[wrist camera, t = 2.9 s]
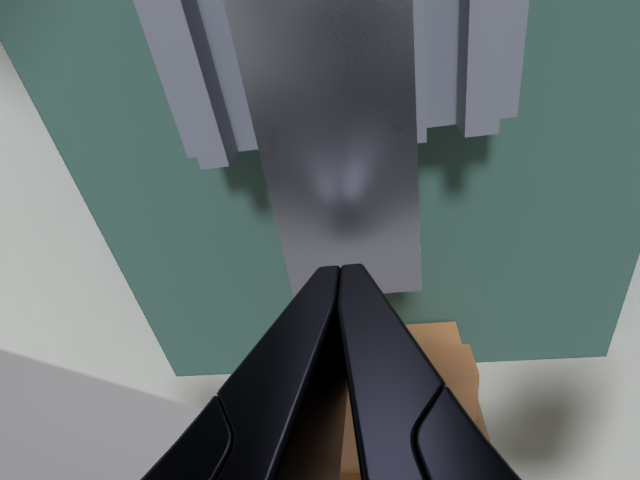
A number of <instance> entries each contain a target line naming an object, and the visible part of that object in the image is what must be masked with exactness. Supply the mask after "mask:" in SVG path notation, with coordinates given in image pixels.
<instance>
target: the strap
mask: <svg viewBox="0 0 640 480" xmlns="http://www.w3.org/2000/svg"><path fill="white" fill-rule="evenodd" d="M223 2H224V6H225V11H226V15H227V19H228V23H229V27H230V32H231V36H232V40H233V44H234V49H235V53H236V57H237V61H238V65H239V70H240V74H241V78H242V82H243V86H244V91H245V95H246V99H247V103H248V108H249V112H250V116H251V120H252V124H253V129H254V133H255V137H256V141H257V146H258V150H259V154H260V158H261V162H262V167H263V171H264V175H265V179H266V183H267V188H268V192H269V196H270V200H271V205H272V209H273V213H274V217H275V221H276V226H277V230H278V234H279V238H280V242H281V247H282V251H283V255H284V259H285V264H286V268H287V272H288V276H289V280H290V285H291V289H292V293H293V297H295V296H296V294H297V293H298V292H299V291H300V290H301V288H302V287H303V286H304V285H305V283H306V282H307V281H308V280H309V278H310V277H311V276H312V275H313V273H314V272H315V271H316V270H317V269H318V268H319V267H322V266H334V265H338V266H339V267H340V268H341V266H343V265H346V264H358V263H361V264H363V265H364V266H365V268H366V269H367V271H368V272H369V274H370V275H371V276H372V278H373V279H374V281H375V282H376V284H377V285H378V287H379V288H380V289H381V291H382V292H383V293H397V292H411V291H422V276H421V244H420V213H419V181H418V150H417V118H416V87H415V55H414V24H413V0H223Z"/></svg>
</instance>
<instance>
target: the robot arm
mask: <svg viewBox="0 0 640 480" xmlns="http://www.w3.org/2000/svg"><path fill="white" fill-rule="evenodd" d="M348 392H349V399H350V406H351V413H352V420H353V427H354V434H355V441H356V448H357V455H358V462H359V469H360V476H361V480H521V479H520V477H519V476H518V475H517V474H516V473H515V472H514V471H513V469H512V468H511V467H510V466H509V465H508V463H507V462H506V461H505V460H504V459H503V457H502V456H501V455H500V454H499V453H498V452H497V450H496V449H495V448H494V447H493V446H492V444H491V443H490V442H489V441H488V440H487V438H486V437H485V436H484V435H483V433H482V432H481V431H480V429H479V428H478V427H477V425H476V424H475V423H474V421H473V420H472V419H471V417H470V416H469V415H468V413H467V412H466V411H465V409H464V408H463V407H462V405H461V404H460V402H459V401H458V399H457V398H456V397H455V395H454V394H453V392H452V391H451V389H450V388H449V387H446V383H445V381H444V380H443V378H442V377H441V375H440V374H439V373H438V371H437V370H436V368H435V367H434V365H433V364H432V363H431V361H430V360H429V358H428V357H427V355H426V354H425V353H424V351H423V350H422V348H421V347H420V345H419V344H418V342H417V341H416V340H415V338H414V337H413V335H412V334H411V332H410V331H409V330H408V328H407V327H406V325H405V324H404V322H403V321H402V320H401V318H400V317H399V315H398V314H397V312H396V311H395V309H394V308H393V307H392V305H391V304H390V302H389V301H388V299H387V298H386V297H385V295H384V294H383V292H382V291H381V289H380V288H379V287H378V285H377V284H376V282H375V281H374V279H373V278H372V276H371V275H370V274H369V272H368V271H367V269H366V268H365V266H364V265H363V264H361V263H358V264H346V265H343V266H341V268H340V267H339V266H338V265H334V266H322V267H319V268H318V269H317V270H316V271H315V272H314V273H313V275H312V276H311V277H310V278H309V280H308V281H307V282H306V283H305V285H304V286H303V287H302V288H301V290H300V291H299V292H298V293H297V294H296V296H295V297H294V298H293V299H292V301H291V302H290V303H289V304H288V306H287V307H286V308H285V309H284V310H283V312H282V313H281V314H280V315H279V317H278V318H277V319H276V320H275V322H274V323H273V324H272V325H271V327H270V328H269V329H268V330H267V331H266V333H265V334H264V335H263V336H262V338H261V339H260V340H259V341H258V343H257V344H256V345H255V346H254V348H253V349H252V350H251V351H250V352H249V354H248V355H247V356H246V357H245V359H244V360H243V361H242V362H241V364H240V365H239V366H238V367H237V369H236V370H235V371H234V372H233V373H232V375H231V376H230V377H229V378H228V380H227V381H226V382H225V383H224V385H223V386H222V387H221V388H220V389H219V391H218V392H217V395H218V396H214V397H213V398H212V399H211V400H210V402H209V403H208V404H207V405H206V406H205V408H204V409H203V410H202V411H201V413H200V414H199V415H198V416H197V417H196V419H195V420H194V421H193V422H192V423H191V424H190V426H189V427H188V428H187V429H186V430H185V431H184V433H183V434H182V435H181V436H180V437H179V439H178V440H177V441H176V442H175V443H174V444H173V445H172V446H171V448H170V449H169V450H168V451H167V452H166V453H165V454H164V455H163V456H162V457H161V458H160V459H159V460H158V462H157V463H156V464H155V465H154V466H153V467H152V468H151V469H150V470H149V471H148V472H147V473H146V475H144V477H143V478H142V479H141V480H339V478H340V468H341V457H342V447H343V437H344V426H345V416H346V405H347V395H348Z"/></svg>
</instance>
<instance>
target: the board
mask: <svg viewBox="0 0 640 480" xmlns="http://www.w3.org/2000/svg"><path fill="white" fill-rule="evenodd" d="M413 24H414V55H415V87H416V118H417V150H418V181H419V213H420V244H421V276H422V291H411V292H397V293H383V294H384V295H385V297H386V298H387V299H388V301H389V302H390V304H391V305H392V307H393V308H394V309H395V311H396V312H397V314H398V315H399V317H400V318H401V320H402V321H403V322H404V324H421V323H438V322H454V321H456V325H457V328H458V332H459V335H460V339H461V343H462V344H470V347H471V350H472V353H473V357H474V360H475V362H495V361H516V360H538V359H559V358H581V357H602V356H606V355H607V352H608V349H609V346H610V343H611V339H612V336H613V333H614V330H615V327H616V324H617V321H618V318H619V315H620V312H621V309H622V306H623V303H624V300H625V296H626V293H627V290H628V287H629V284H630V281H631V278H632V275H633V272H634V269H635V266H636V263H637V260H638V257H639V254H640V0H413ZM0 41H1V43H2V44H3V46H4V48H5V50H6V52H7V54H8V56H9V58H10V60H11V62H12V63H13V65H14V67H15V69H16V71H17V73H18V75H19V77H20V79H21V81H22V83H23V84H24V86H25V88H26V90H27V92H28V94H29V96H30V98H31V100H32V102H33V104H34V105H35V107H36V109H37V111H38V113H39V115H40V117H41V119H42V121H43V123H44V124H45V126H46V128H47V130H48V132H49V134H50V136H51V138H52V140H53V142H54V144H55V145H56V147H57V149H58V151H59V153H60V155H61V157H62V159H63V161H64V163H65V165H66V166H67V168H68V170H69V172H70V174H71V176H72V178H73V180H74V182H75V184H76V185H77V187H78V189H79V191H80V193H81V195H82V197H83V199H84V201H85V203H86V205H87V206H88V208H89V210H90V212H91V214H92V216H93V218H94V220H95V222H96V224H97V226H98V227H99V229H100V231H101V233H102V235H103V237H104V239H105V241H106V243H107V245H108V246H109V248H110V250H111V252H112V254H113V256H114V258H115V260H116V262H117V264H118V266H119V267H120V269H121V271H122V273H123V275H124V277H125V279H126V281H127V283H128V285H129V287H130V288H131V290H132V292H133V294H134V296H135V298H136V300H137V302H138V304H139V306H140V307H141V309H142V311H143V313H144V315H145V317H146V319H147V321H148V323H149V325H150V327H151V328H152V330H153V332H154V334H155V336H156V338H157V340H158V342H159V344H160V346H161V348H162V349H163V351H164V353H165V355H166V357H167V359H168V361H169V363H170V365H171V367H172V369H173V370H174V372H175V374H176V376H194V375H216V374H232V373H233V372H234V371H235V370H236V369H237V367H238V366H239V365H240V364H241V362H242V361H243V360H244V359H245V357H246V356H247V355H248V354H249V352H250V351H251V350H252V349H253V348H254V346H255V345H256V344H257V343H258V341H259V340H260V339H261V338H262V336H263V335H264V334H265V333H266V331H267V330H268V329H269V328H270V327H271V325H272V324H273V323H274V322H275V320H276V319H277V318H278V317H279V315H280V314H281V313H282V312H283V310H284V309H285V308H286V307H287V306H288V304H289V303H290V302H291V301H292V299H293V298H294V297H293V293H292V289H291V285H290V280H289V276H288V272H287V268H286V264H285V259H284V255H283V251H282V247H281V242H280V238H279V234H278V230H277V226H276V221H275V217H274V213H273V209H272V205H271V200H270V196H269V192H268V188H267V183H266V179H265V175H264V171H263V167H262V162H261V158H260V154H259V150H258V146H257V141H256V137H255V133H254V129H253V124H252V120H251V116H250V112H249V108H248V103H247V99H246V95H245V91H244V86H243V82H242V78H241V74H240V70H239V65H238V61H237V57H236V53H235V49H234V44H233V40H232V36H231V32H230V27H229V23H228V19H227V15H226V11H225V6H224V2H223V0H0Z"/></svg>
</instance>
